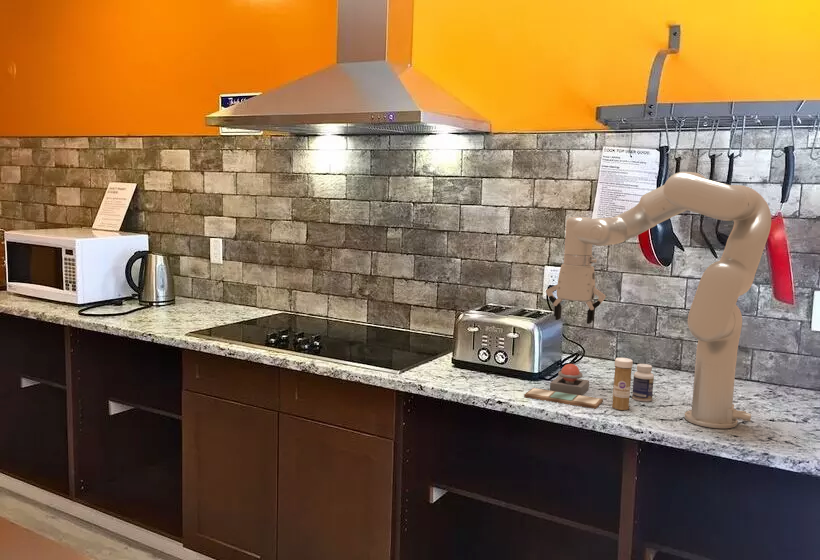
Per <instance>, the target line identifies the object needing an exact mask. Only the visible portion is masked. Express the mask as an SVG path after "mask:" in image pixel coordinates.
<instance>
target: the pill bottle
mask: <svg viewBox="0 0 820 560" xmlns="http://www.w3.org/2000/svg"><path fill="white" fill-rule="evenodd" d="M652 370H653V365H651V364H648V363H637V365H636V371H635V372H634V374H633V382H632V395H631V397H632V399H633V400H635V401H639V402H646V403H647V402H651V401H653V393H654V392H653V391H654V380H655V377H654V376H655V375H654V374H653V373H652Z"/></svg>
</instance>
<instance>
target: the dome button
mask: <svg viewBox="0 0 820 560" xmlns="http://www.w3.org/2000/svg"><path fill="white" fill-rule="evenodd" d="M557 375H558V376H561V377H563V379H564V380H566V383H567V384H574V381H576V380H577V379H581V378H583V372H580V368H579V366H577V365H576V364H574V363H567V364H565V365H564V366H563V367H562V368H561V370H559V371H558V374H557Z"/></svg>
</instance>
